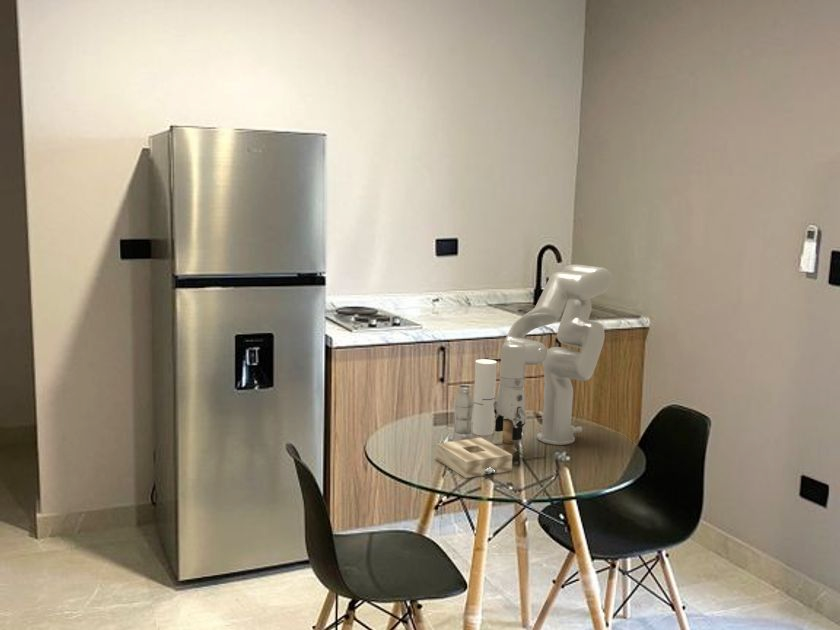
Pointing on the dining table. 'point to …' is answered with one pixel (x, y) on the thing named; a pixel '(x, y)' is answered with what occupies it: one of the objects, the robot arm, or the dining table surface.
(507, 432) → the peg
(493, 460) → the block
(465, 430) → the plastic bottle
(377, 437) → the dining table surface
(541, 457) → the dining table surface
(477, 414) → the cylindrical container
